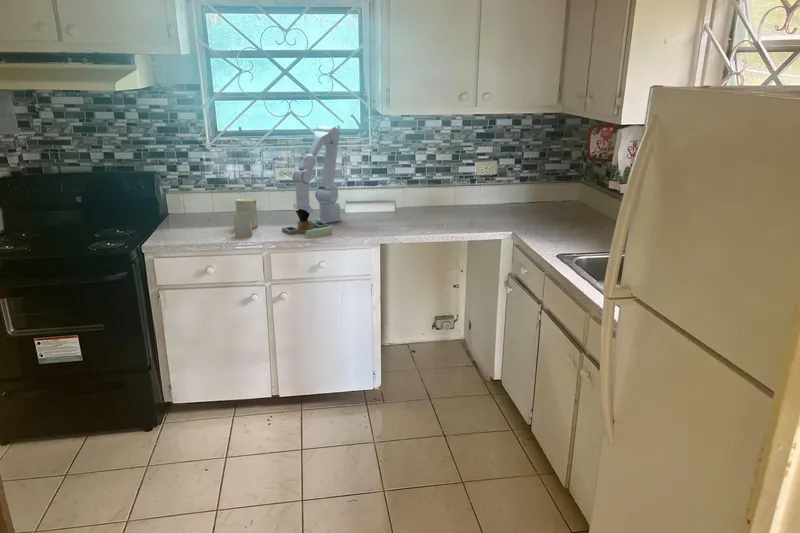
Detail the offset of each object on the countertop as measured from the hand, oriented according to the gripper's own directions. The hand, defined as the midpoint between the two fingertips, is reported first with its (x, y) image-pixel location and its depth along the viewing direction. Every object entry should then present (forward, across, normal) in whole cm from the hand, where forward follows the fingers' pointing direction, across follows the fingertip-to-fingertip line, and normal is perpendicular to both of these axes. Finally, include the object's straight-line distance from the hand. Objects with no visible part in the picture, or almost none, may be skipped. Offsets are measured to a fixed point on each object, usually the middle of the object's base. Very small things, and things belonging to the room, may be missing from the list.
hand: (303, 225), depth 274 cm
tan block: (+1, +4, -1) cm, 4 cm away
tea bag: (+2, -4, -27) cm, 27 cm away
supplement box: (+2, -16, -20) cm, 26 cm away
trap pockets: (+1, +6, 0) cm, 7 cm away
